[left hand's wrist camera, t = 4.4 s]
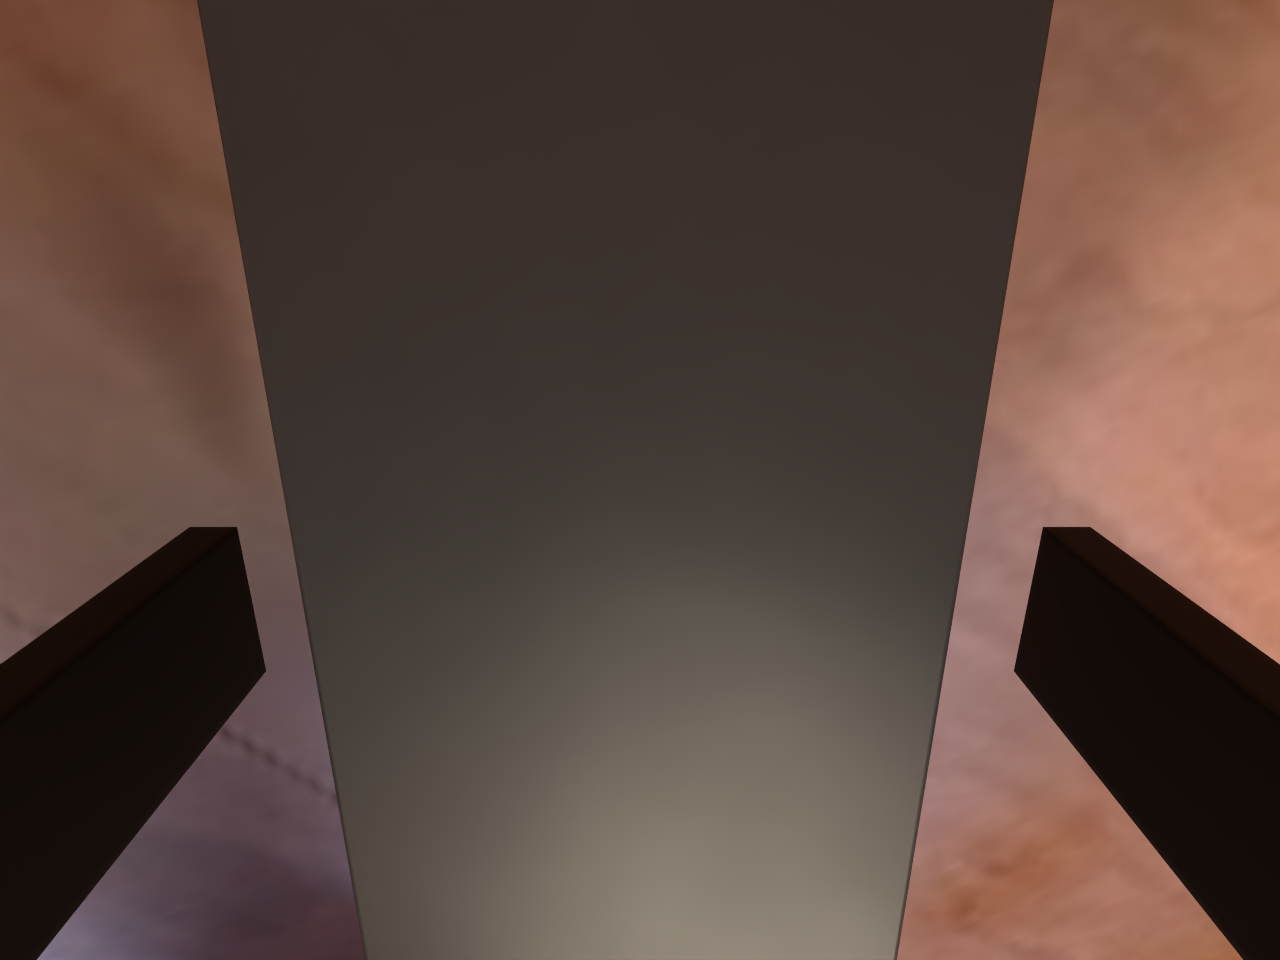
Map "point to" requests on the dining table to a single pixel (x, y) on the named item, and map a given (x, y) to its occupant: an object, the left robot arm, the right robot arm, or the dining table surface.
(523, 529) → the bar
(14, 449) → the dining table surface
